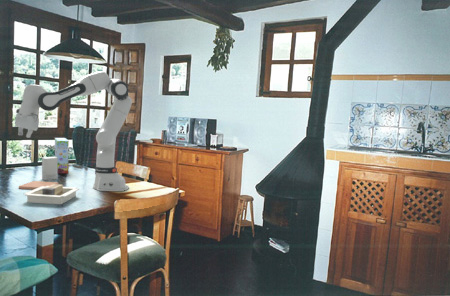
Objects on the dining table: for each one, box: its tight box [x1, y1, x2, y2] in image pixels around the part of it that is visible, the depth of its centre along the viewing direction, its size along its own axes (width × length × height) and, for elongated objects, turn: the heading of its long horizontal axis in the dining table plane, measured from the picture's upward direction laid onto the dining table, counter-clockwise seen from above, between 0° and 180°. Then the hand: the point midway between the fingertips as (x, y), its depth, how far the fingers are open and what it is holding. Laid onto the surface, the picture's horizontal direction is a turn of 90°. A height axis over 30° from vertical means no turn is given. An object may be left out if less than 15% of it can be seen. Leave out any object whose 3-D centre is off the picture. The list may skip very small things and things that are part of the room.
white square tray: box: [23, 186, 80, 205], centre depth 176 cm, size 22×22×4 cm
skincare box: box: [41, 156, 58, 182], centre depth 222 cm, size 8×7×16 cm
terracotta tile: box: [18, 180, 60, 191], centre depth 200 cm, size 16×16×2 cm
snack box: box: [54, 137, 70, 175], centre depth 252 cm, size 22×9×26 cm, turn 33°
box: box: [42, 184, 64, 196], centre depth 176 cm, size 5×12×7 cm, turn 2°
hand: (24, 136), depth 179 cm, fingers open, 8 cm apart
